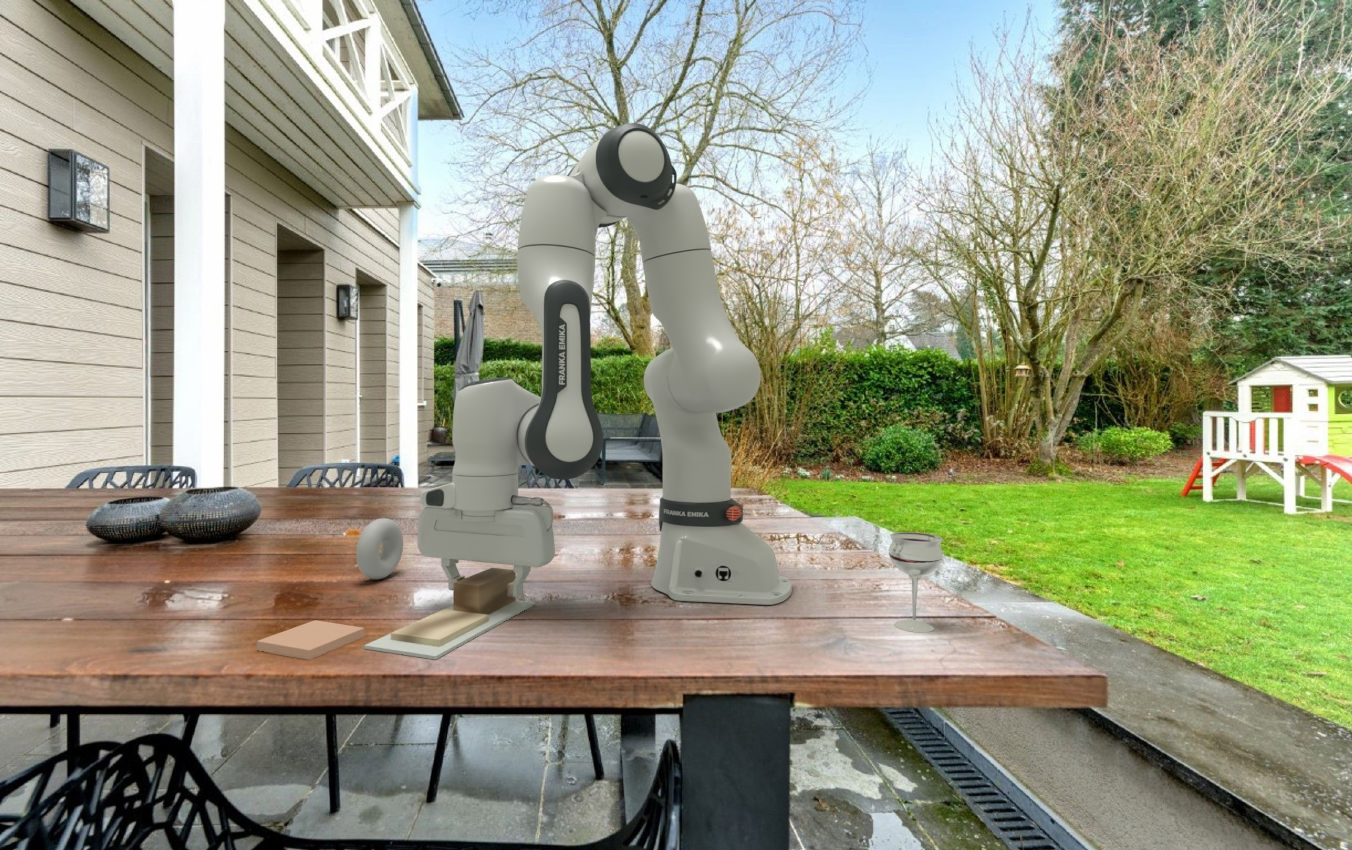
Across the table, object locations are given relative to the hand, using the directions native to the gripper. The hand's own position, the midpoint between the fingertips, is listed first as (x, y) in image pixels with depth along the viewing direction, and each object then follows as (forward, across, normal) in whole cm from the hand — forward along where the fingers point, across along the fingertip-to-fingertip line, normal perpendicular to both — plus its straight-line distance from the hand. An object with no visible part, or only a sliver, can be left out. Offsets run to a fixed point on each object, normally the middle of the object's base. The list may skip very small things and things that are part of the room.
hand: (485, 592), depth 92 cm
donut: (+3, +26, -9) cm, 28 cm away
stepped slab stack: (+2, 0, +5) cm, 5 cm away
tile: (+2, +12, +14) cm, 18 cm away
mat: (+3, 0, +6) cm, 7 cm away
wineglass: (+3, -57, -14) cm, 59 cm away
